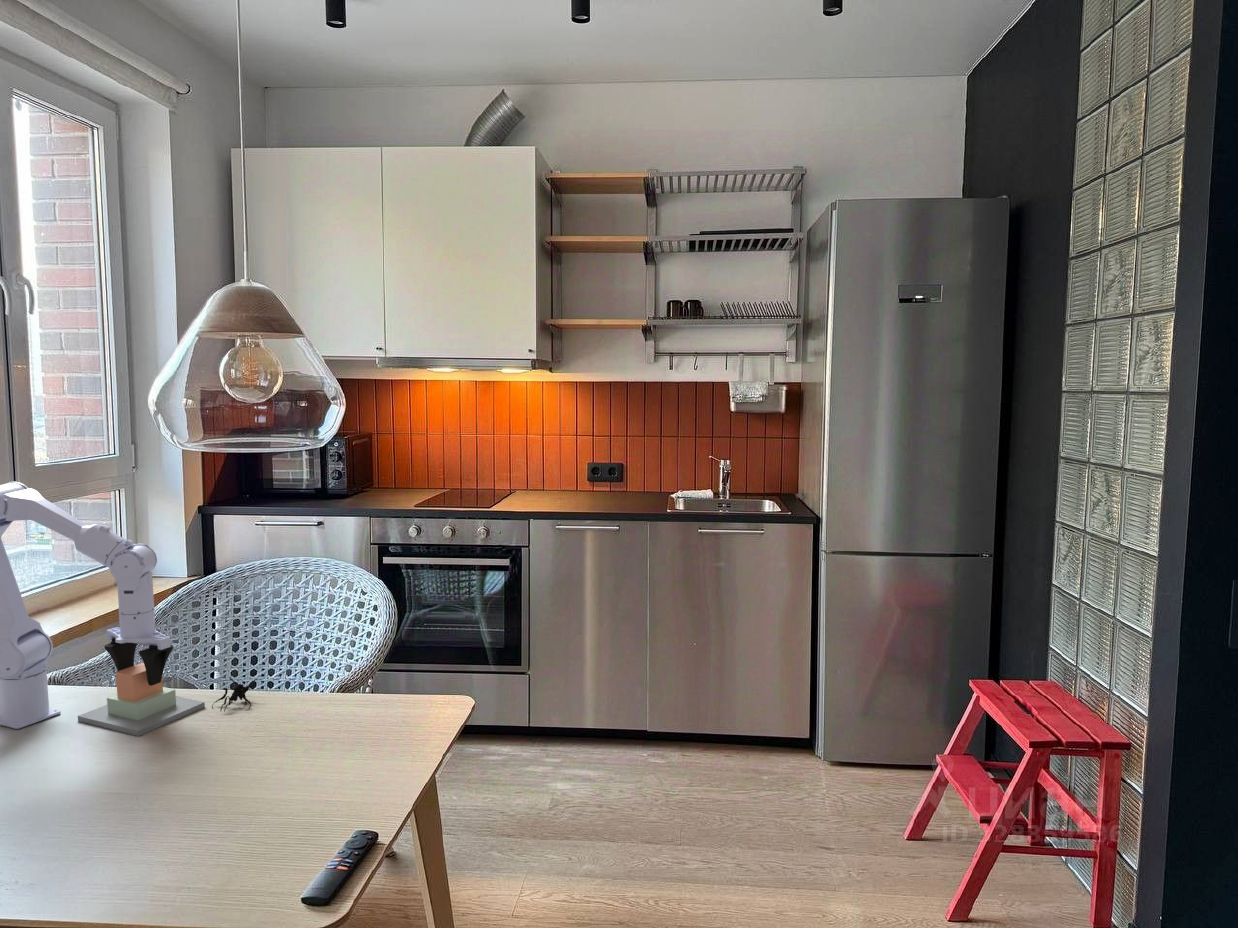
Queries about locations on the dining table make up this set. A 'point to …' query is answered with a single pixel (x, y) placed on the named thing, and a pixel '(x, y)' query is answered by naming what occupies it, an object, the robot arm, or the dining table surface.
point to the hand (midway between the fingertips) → (140, 680)
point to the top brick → (135, 683)
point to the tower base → (143, 723)
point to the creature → (236, 694)
